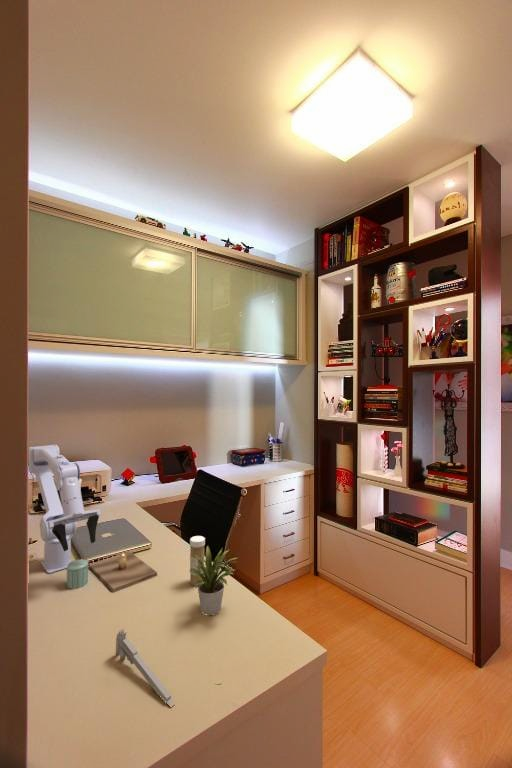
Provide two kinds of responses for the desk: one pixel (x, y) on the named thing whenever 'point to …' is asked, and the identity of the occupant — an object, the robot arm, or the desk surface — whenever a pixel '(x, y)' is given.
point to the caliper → (140, 665)
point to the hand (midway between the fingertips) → (80, 546)
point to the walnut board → (122, 572)
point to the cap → (77, 574)
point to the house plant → (211, 581)
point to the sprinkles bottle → (197, 549)
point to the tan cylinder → (122, 561)
